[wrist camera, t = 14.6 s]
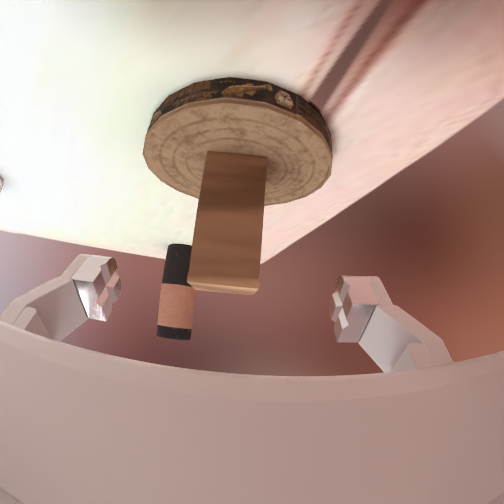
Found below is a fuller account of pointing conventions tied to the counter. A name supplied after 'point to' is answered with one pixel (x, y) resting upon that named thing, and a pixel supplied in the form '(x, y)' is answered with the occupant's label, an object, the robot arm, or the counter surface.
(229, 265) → the walnut block
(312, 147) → the wood slice
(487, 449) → the robot arm
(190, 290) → the travel mug
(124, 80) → the counter surface
